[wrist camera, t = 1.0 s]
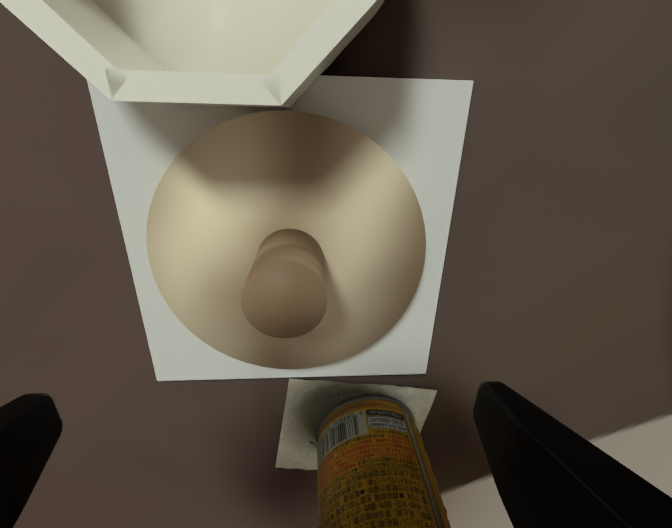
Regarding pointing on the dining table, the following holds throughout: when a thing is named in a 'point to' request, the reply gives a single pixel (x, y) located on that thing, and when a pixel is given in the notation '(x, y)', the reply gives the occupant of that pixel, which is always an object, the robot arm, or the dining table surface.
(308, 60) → the bowl
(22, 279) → the dining table surface
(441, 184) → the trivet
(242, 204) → the lid
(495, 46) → the dining table surface
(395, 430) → the condiment
